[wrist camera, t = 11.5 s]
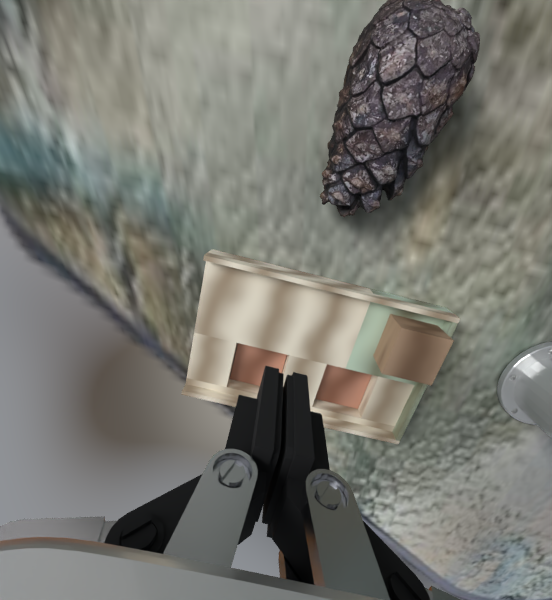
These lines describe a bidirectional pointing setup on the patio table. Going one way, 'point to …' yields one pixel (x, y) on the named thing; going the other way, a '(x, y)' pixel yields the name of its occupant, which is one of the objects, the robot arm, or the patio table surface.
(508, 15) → the patio table surface
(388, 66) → the pine cone
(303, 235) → the patio table surface
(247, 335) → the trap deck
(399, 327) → the walnut block
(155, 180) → the patio table surface
